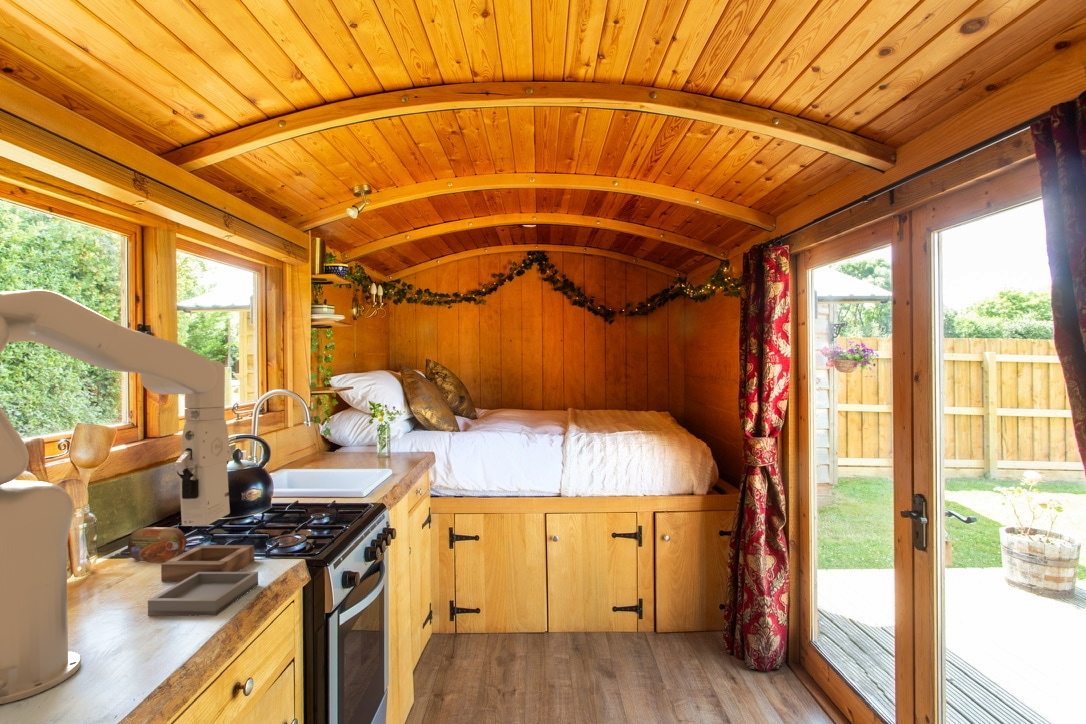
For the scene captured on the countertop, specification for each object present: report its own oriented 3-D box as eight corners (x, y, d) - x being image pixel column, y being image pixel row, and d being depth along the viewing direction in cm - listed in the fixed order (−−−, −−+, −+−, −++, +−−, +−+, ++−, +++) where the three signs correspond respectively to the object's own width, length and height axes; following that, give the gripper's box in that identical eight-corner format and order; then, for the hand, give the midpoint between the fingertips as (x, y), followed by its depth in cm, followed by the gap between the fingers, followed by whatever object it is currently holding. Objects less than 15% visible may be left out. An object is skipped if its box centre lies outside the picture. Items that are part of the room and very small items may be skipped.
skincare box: (207, 526, 110) (203, 459, 110) (179, 527, 111) (175, 459, 110) (231, 513, 119) (228, 450, 118) (205, 513, 119) (202, 450, 118)
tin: (126, 561, 131) (126, 528, 132) (138, 556, 135) (137, 524, 135) (178, 563, 129) (178, 530, 129) (188, 558, 132) (188, 526, 133)
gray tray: (215, 615, 101) (215, 600, 101) (148, 615, 102) (147, 600, 102) (258, 585, 115) (258, 571, 115) (198, 585, 116) (198, 571, 116)
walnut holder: (221, 581, 118) (221, 564, 118) (161, 581, 118) (161, 564, 118) (254, 560, 130) (254, 545, 130) (199, 560, 131) (199, 545, 131)
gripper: (194, 418, 106) (193, 503, 105) (244, 412, 123) (244, 485, 123) (158, 419, 106) (157, 503, 106) (214, 413, 123) (213, 485, 123)
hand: (204, 493), depth 114 cm, fingers closed on skincare box, 8 cm apart
